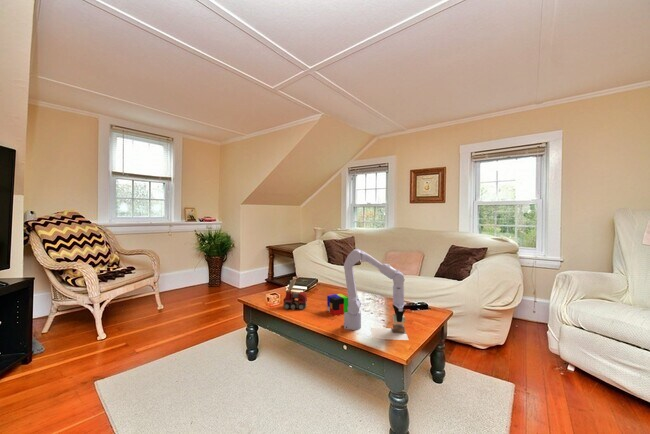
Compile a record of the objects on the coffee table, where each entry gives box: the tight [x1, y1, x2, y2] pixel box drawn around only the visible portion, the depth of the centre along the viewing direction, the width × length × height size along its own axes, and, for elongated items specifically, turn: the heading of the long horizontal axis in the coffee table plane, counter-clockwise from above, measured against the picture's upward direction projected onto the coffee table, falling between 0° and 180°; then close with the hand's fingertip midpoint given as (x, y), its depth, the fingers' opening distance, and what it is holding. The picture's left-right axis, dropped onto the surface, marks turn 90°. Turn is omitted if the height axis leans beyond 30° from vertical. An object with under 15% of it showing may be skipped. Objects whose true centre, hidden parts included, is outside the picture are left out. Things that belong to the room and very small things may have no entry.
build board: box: [370, 327, 410, 341], centre depth 143 cm, size 18×13×1 cm
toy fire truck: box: [282, 279, 308, 311], centre depth 187 cm, size 11×16×18 cm
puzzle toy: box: [326, 293, 348, 316], centre depth 177 cm, size 10×10×10 cm
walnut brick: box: [392, 322, 406, 333], centre depth 146 cm, size 6×4×3 cm
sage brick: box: [392, 313, 406, 324], centre depth 145 cm, size 6×4×3 cm
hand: (398, 320), depth 145 cm, fingers closed on sage brick, 4 cm apart
